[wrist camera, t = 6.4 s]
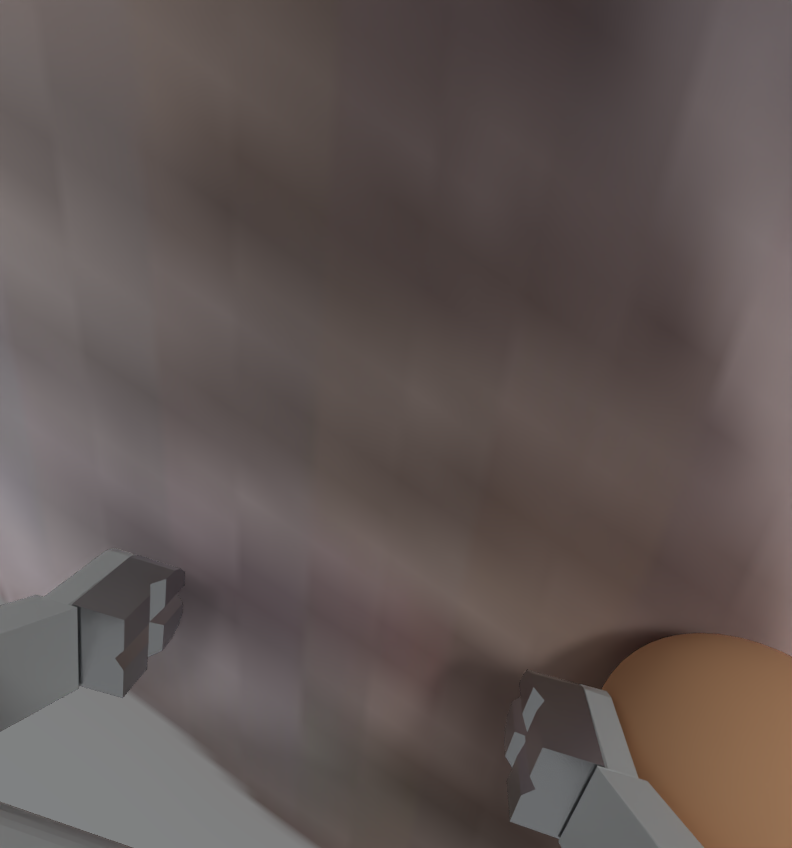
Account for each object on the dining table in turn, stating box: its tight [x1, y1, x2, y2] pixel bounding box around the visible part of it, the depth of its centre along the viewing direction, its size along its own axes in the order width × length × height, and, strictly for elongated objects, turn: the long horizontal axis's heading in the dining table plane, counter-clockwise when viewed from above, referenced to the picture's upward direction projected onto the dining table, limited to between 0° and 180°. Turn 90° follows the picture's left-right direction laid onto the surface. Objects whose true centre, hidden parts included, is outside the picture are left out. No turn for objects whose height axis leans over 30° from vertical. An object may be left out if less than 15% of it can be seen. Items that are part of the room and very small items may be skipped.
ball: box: [602, 633, 792, 848], centre depth 8 cm, size 5×5×5 cm
